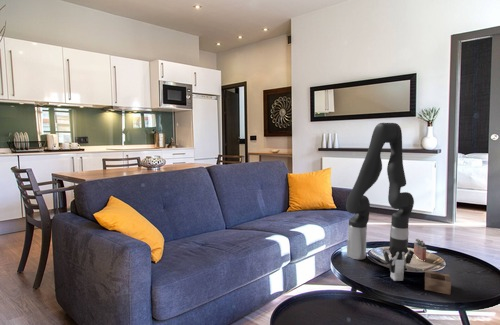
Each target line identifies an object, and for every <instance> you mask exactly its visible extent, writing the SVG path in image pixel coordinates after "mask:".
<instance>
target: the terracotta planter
mask: <svg viewBox="0 0 500 325" xmlns="http://www.w3.org/2000/svg"><path fill="white" fill-rule="evenodd" d="M425 244H426V243H425V242H424V240H420V239H419V238H415V242H413V246H414V247H413V252H414V254H415V255H416V256H417V257H418V258H419V259H421V260H423V261H424V260H426V261H427V259H426V258H427V248H428V247H427V246H426V245H425Z"/></svg>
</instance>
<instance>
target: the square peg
mask: <svg viewBox="0 0 500 325" xmlns="http://www.w3.org/2000/svg"><path fill="white" fill-rule="evenodd" d="M393 258H394V257H393ZM404 273H405V271H404V259H402V258H397V260H395V264H394V273H392V272H391V271H390V278H391V280H393V281H394V282H400V281H404Z"/></svg>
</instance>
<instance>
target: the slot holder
mask: <svg viewBox="0 0 500 325" xmlns="http://www.w3.org/2000/svg"><path fill="white" fill-rule="evenodd" d="M424 290H425V291H429V292H430V291H431V292H435V293H441V294H444V295H449V296H451V294H452V293H451V290H452V281H451V276H450V274H447V273H443V272H442V273H441V272H436V271H431V270H426V269H425V270H424Z"/></svg>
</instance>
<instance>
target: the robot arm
mask: <svg viewBox="0 0 500 325" xmlns="http://www.w3.org/2000/svg"><path fill="white" fill-rule="evenodd" d="M385 143H387V144H389V147H390V156H389V159H388V163H387V167H386V172H387V173H386V174H387V178H388V183H389V185H388V194H387V198H388V199H387V200H388V203H389V206H390V207H391V208H392V209H394V210H397V211H396V212H394V213H392V214H391V221H390V222H391V223H390V232H389V247H388V249H387V250H385V249H383V250H382V253H383V258H384V260H385V262H386V263H387V264H388V265H389V269H388V270H389V271H390V273H391V272H392V273H394V264H395V260H397V258H402V259H404V272H405V271H406V265H407V264H408V265H410V264H411V261H412V259H413V258H414V257H413V254H414V250H412V249H409V248H408V247H409V221H410V216H411V214H412V212H413V208H414V205H415V200H414V196H413V194H412V193H411V192H408V191H407V192H406V191H405V192H401V189H402V188H403V187H405V186H406V185H407V178H406V174H405V168H404V161H403V160H404V158H403V133H402V127H401V126H400V124H399V123H396V122H380V123H377V124H376V125H375V127H374V129H373V132H372V134H371V139H370V142H369V146H368V150H367V152H366V155H365V157H364V159H363V162H362V165H361V167H360V170H359V172H358V176H357V178H356V181H355V183H354V186H353V187H352V189H351V190H350V193H349V195H348V196H347V199H346V202H345V210H346V211H347V212H348V213H349V214H354V215H352V217H350V218H349V219H348V234H347V235H348V236H347V240H346V241H347V242H346V257H348V258H350V259H353V260H364V259H366V255H367V237H368V236H367V231H368V223H369V221H370V208H371V203H370V199H369V198H368V197H367V195H366V192H367V191H368V190H369V189H371V188H372V187H373V185H375V183H376V182H377V181H378V179H379V177H380V175H381V172H382V170H383V162H382V157H381V154H382V149H383V147H384V145H385ZM389 255H390V256H389ZM393 257H394V258H393Z"/></svg>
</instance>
